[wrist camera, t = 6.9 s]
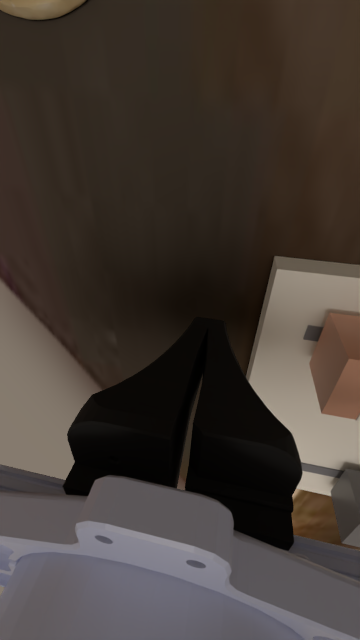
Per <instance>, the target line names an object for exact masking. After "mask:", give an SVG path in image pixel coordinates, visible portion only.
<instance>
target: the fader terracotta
mask: <svg viewBox="0 0 360 640" xmlns="http://www.w3.org/2000/svg"><path fill="white" fill-rule="evenodd" d="M309 365H310V369H311V373H312V377H313V382H314V386H315V390H316V394H317V398H318V402H319V406H320V410H321V414H327V415H332V416H338V417H343V418H349V419H355V420H356V421H358V422H360V317H359V316H352V315H344V314H336V313H329V315H328V318H327V320H326V323H325V325H324V328H323V330H322V333H321V335H320V338H319V340H318V343H317V345H316V348H315V350H314V352H313V355H312V357H311V360H310V362H309Z"/></svg>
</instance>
